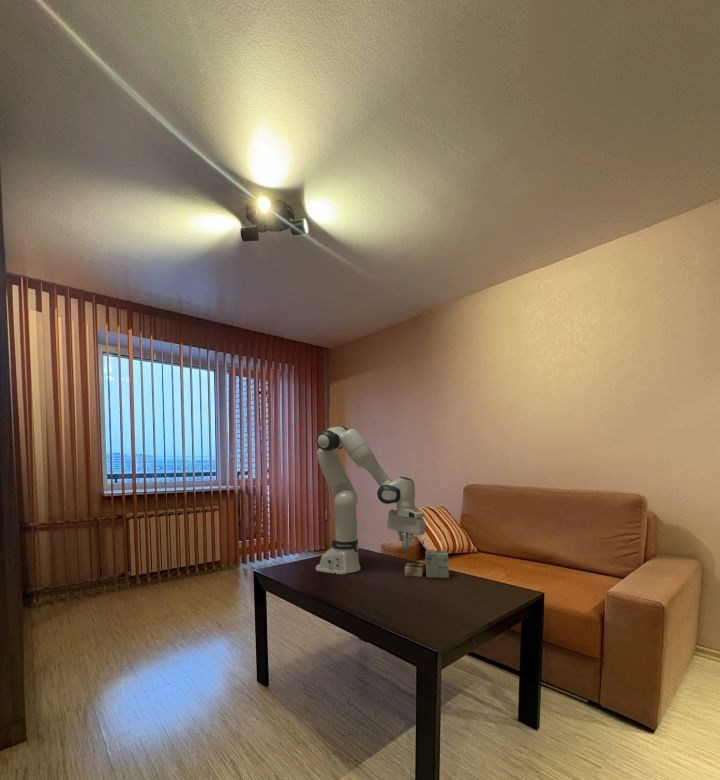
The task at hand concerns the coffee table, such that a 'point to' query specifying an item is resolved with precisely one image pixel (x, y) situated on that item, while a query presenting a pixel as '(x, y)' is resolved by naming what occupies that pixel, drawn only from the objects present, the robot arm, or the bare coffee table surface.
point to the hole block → (413, 569)
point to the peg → (405, 541)
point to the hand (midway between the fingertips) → (405, 541)
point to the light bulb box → (437, 564)
